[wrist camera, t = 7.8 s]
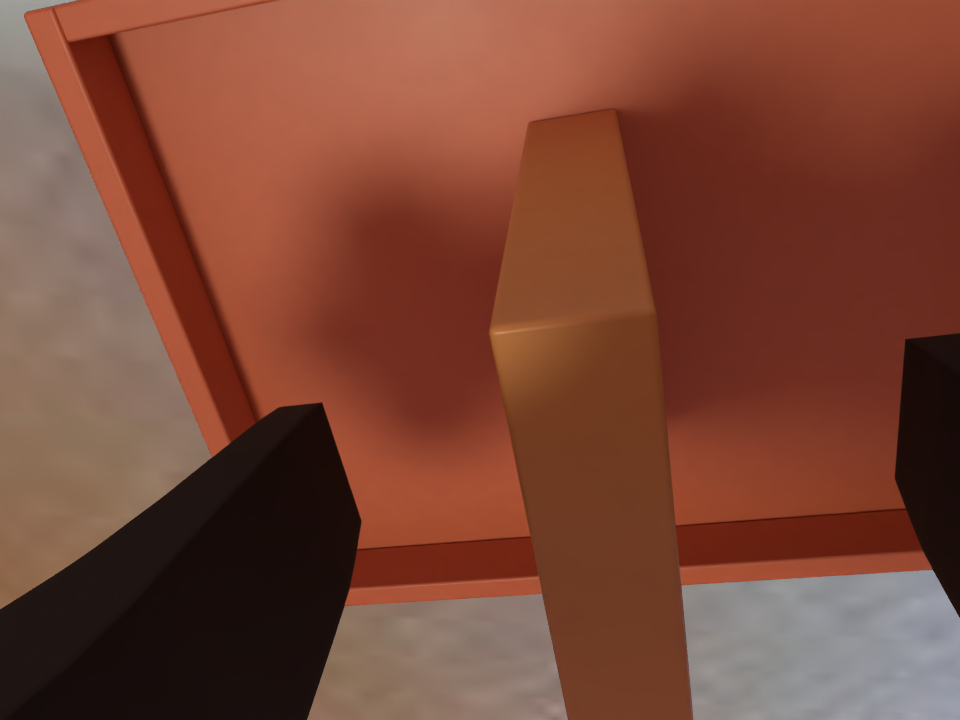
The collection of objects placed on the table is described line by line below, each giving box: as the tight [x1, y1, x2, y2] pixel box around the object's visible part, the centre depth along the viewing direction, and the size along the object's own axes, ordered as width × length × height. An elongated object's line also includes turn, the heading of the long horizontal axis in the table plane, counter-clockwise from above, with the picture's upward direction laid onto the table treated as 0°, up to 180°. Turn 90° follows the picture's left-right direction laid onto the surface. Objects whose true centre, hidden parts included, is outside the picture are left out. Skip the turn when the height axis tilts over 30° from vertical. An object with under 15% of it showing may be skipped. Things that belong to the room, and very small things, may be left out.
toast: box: [489, 109, 693, 720], centre depth 11 cm, size 1×6×7 cm, turn 11°
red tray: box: [24, 0, 960, 606], centre depth 14 cm, size 15×12×2 cm
